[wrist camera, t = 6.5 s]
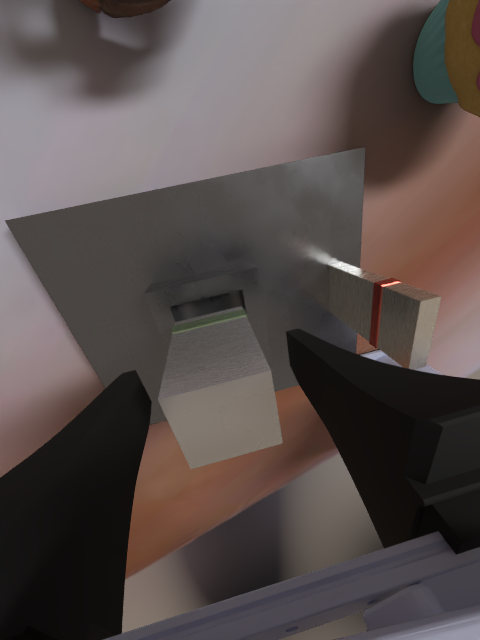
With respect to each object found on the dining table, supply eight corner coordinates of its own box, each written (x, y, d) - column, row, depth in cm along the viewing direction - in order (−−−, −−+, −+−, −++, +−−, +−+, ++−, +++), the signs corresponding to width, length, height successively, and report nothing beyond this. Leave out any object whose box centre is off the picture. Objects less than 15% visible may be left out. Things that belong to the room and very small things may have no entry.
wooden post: (253, 360, 15) (284, 443, 10) (193, 375, 15) (190, 470, 10) (242, 305, 14) (272, 368, 8) (174, 321, 13) (155, 399, 8)
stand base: (349, 363, 23) (428, 443, 15) (133, 421, 22) (95, 541, 14) (355, 150, 15) (529, 81, 7) (17, 220, 14) (-231, 229, 6)
